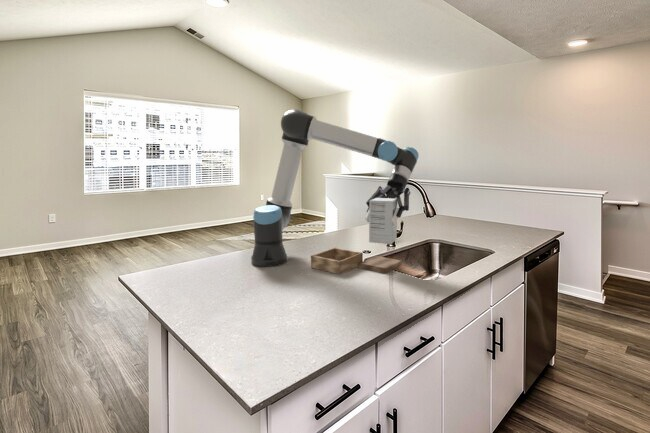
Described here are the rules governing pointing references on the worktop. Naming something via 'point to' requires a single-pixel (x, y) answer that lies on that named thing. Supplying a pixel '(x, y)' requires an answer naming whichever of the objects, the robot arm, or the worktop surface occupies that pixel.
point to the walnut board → (380, 264)
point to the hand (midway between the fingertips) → (379, 221)
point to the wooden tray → (330, 257)
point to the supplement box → (382, 220)
